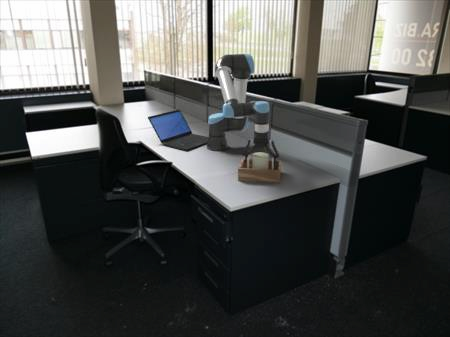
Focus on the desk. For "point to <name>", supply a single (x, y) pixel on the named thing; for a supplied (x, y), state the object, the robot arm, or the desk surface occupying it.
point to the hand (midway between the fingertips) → (260, 168)
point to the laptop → (175, 131)
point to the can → (260, 160)
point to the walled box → (259, 172)
